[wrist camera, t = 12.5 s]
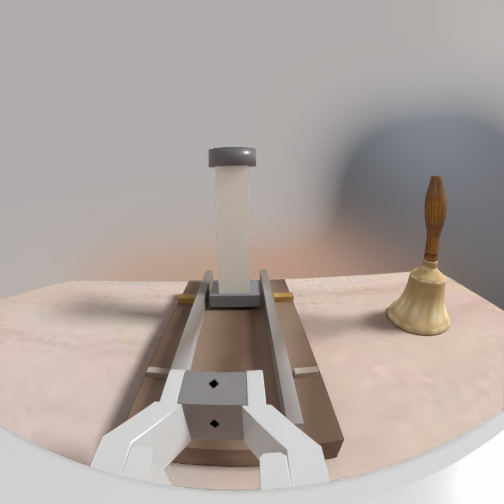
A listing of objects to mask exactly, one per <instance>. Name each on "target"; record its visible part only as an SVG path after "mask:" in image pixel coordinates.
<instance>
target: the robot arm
mask: <svg viewBox="0 0 504 504" xmlns="http://www.w3.org/2000/svg"><path fill="white" fill-rule="evenodd" d="M246 380H247V382H246ZM191 439H206V440H244V442H245V443H246V445H247V446H248V447H249V448H250V450H251V451H252V452H253V453H254V455H255V456H256V457H257V458H258V460H259V461H260V463H259V490H216V489H200V488H189V487H180V486H173V485H172V484H171V482H170V480H169V479H168V477H167V475H166V473H165V472H164V469H165V468H166V467H167V466H168V465H169V464H170V463H171V462H172V461H173V460H174V459H175V458H176V456H177V455H178V454H179V453H180V452H181V451H182V450H183V449H184V448H185V447H186V446H187V445H188V444H189V443H190V442H191ZM0 504H504V408H503V409H502V410H500V411H499V412H497V413H496V414H494V415H493V416H491V417H490V418H488V419H487V420H485V421H483V422H482V423H480V424H478V425H477V426H475V427H473V428H472V429H470V430H468V431H466V432H465V433H463V434H461V435H459V436H457V437H455V438H453V439H452V440H450V441H448V442H446V443H443V444H441V445H439V446H437V447H435V448H433V449H431V450H428V451H426V452H424V453H421V454H419V455H417V456H414V457H412V458H409V459H406V460H404V461H401V462H398V463H395V464H392V465H389V466H386V467H383V468H380V469H377V470H374V471H370V472H367V473H363V474H359V475H355V476H351V477H347V478H343V479H338V480H333V481H330V477H329V473H328V469H327V466H326V462H325V458H324V455H323V451H322V447H321V446H320V445H319V444H317V443H316V442H315V441H314V440H312V439H311V438H310V437H309V436H307V435H306V434H305V433H304V432H302V431H301V430H300V429H299V428H298V427H296V426H295V425H294V424H293V423H292V422H290V421H289V420H288V419H287V418H286V417H285V416H283V415H282V414H281V413H280V412H279V411H278V410H277V409H276V408H274V407H273V406H272V405H266V396H265V387H264V378H263V371H262V370H251V371H247V372H246V371H197V370H179V369H171V370H170V371H169V374H168V377H167V380H166V383H165V386H164V389H163V392H162V395H161V398H160V401H159V402H154V403H152V404H151V405H149V406H148V407H146V408H145V409H144V410H142V411H141V412H139V413H138V414H136V415H135V416H133V417H132V418H130V419H129V420H127V421H126V422H124V423H123V424H121V425H120V426H118V427H117V428H115V429H114V430H112V431H110V432H109V433H107V434H106V435H104V436H103V437H102V440H101V442H100V444H99V446H98V449H97V451H96V453H95V456H94V458H93V461H92V463H91V465H90V466H87V465H84V464H81V463H79V462H76V461H73V460H71V459H68V458H65V457H63V456H60V455H58V454H56V453H53V452H51V451H49V450H47V449H45V448H42V447H40V446H38V445H36V444H34V443H32V442H30V441H28V440H26V439H24V438H22V437H21V436H19V435H17V434H15V433H13V432H12V431H10V430H8V429H7V428H5V427H3V426H2V425H0Z"/></svg>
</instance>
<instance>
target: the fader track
mask: <svg viewBox="0 0 504 504" xmlns="http://www.w3.org/2000/svg"><path fill="white" fill-rule="evenodd" d="M212 284H213V273H212V271H206V272H205V274H204V277H203V280H202V281H189V282H188V284H187V286H186V288H185V290H184V292H183V294H179V296H178V305H177V307H176V309H175V311H174V313H173V315H172V317H171V320H170V322H169V324H168V326H167V328H166V330H165V332H164V335H163V337H162V339H161V341H160V343H159V346H158V348H157V350H156V352H155V354H154V357H153V359H152V361H151V363H150V366H149V367H148V369H147V373H146V375H145V377H144V379H143V382H142V384H141V386H140V389H139V391H138V393H137V396H136V398H135V401H134V403H133V405H132V408H131V410H130V413H129V415H128V418H127V420H129V419H130V418H132V417H133V416H135V415H136V414H138V413H139V412H141V411H142V410H144V409H145V408H146V407H148V406H149V405H151V404H152V403H154V402H159V401H160V398H161V395H162V392H163V389H164V386H165V383H166V380H167V377H168V374H169V371H170V370H171V369H179V370H197V371H246V372H247V371H251V370H262V371H263V378H264V387H265V396H266V405H272V406H273V407H274V408H276V409H277V410H278V411H279V412H280V413H281V414H282V415H283V416H285V417H286V418H287V419H288V420H289V421H290V422H292V423H293V424H294V425H295V426H296V427H298V428H299V429H300V430H301V431H302V432H304V433H305V434H306V435H307V436H309V437H310V438H311V439H312V440H314V441H315V442H316V443H317V444H319V445H320V446H321V447H322V451H323V455H324V458H325V459H328V458H333V457H337V455H338V452H339V450H340V448H341V445H342V443H343V441H344V438H343V435H342V432H341V429H340V426H339V423H338V421H337V418H336V415H335V412H334V409H333V407H332V404H331V401H330V398H329V396H328V393H327V390H326V387H325V385H324V382H323V379H322V377H321V374H320V371H319V368H318V366H317V363H316V360H315V358H314V355H313V352H312V350H311V347H310V344H309V342H308V339H307V336H306V334H305V331H304V329H303V326H302V323H301V321H300V318H299V316H298V313H297V310H296V308H295V305H294V303H293V294H292V293H290V292H289V290H288V287H287V285H286V282H285V280H284V279H280V280H269V277H268V273H267V270H260V280H258V287H259V295H260V307H210V299H209V295H210V291H211V288H212ZM246 382H247V380H246ZM127 420H126V421H127ZM172 462H176V463H185V464H195V465H210V466H259V463H260V461H259V460H258V458H257V457H256V456H255V455H254V453H253V452H252V451H251V450H250V448H249V447H248V446H247V445H246V443H245V442H244V440H206V439H191V442H190V443H189V444H188V445H187V446H186V447H185V448H184V449H183V450H182V451H181V452H180V453H179V454H178V455H177V456H176V458H175V459H174V460H173V461H172Z"/></svg>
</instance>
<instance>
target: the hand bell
mask: <svg viewBox="0 0 504 504" xmlns="http://www.w3.org/2000/svg"><path fill="white" fill-rule="evenodd" d="M446 211H447V198H446V194H445V189H444V185H443V181H442V177H439V176H431V180H430V184H429V187H428V190H427V193H426V198H425V222H426V228H427V241H426V248H425V254H424V258H425V259H424V262H423V265H422V266H421V267H419V268H416V269H414V270H412V271H411V273H410V276H409V279H408V283H407V285H406V288H405V290H404V292H403V294H402V295H401V297H400V298H399V299H398V300H397V301H395V302H393V303H392V304H391V305H390V306H389V308H388V310H387V315H388V318H389V319H390V321H391V322H392V323H393V324H394V325H396V326H397V327H399V328H401V329H403V330H405V331H407V332H410V333H414V334H419V335H436V334H440V333H443V332H445V331H446V330H447V329H448V328H449V326H450V317H449V314H448V313H447V311H446V308H445V302H444V293H445V282H446V278H445V276H444V275H443V274H442V273H441V272H440V271H439V270H438V269H437V263H438V261H437V260H438V251H439V240H440V234H441V231H442V228H443V226H444V222H445V217H446Z"/></svg>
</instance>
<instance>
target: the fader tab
mask: <svg viewBox="0 0 504 504" xmlns="http://www.w3.org/2000/svg"><path fill="white" fill-rule="evenodd" d="M254 166H256V149H254V148H247V147H223V148H214V149H210V150H209V167H215V207H216V208H215V209H216V239H217V264H218V281H213V284H212V288H211V291H210V295H209V299H210V307H260V295H259V287H258V280H250V252H249V251H250V249H249V248H250V246H249V167H254Z"/></svg>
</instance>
